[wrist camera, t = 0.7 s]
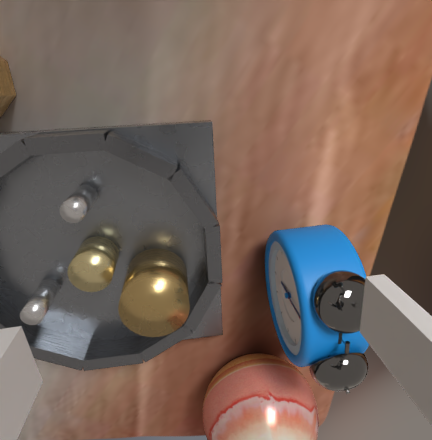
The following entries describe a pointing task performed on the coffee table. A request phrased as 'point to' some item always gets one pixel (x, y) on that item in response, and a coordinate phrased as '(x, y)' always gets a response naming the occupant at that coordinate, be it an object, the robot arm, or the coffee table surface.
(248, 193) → the coffee table surface
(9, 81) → the octagonal brass tube
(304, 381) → the vase
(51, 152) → the carrier
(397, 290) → the robot arm
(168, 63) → the coffee table surface
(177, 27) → the coffee table surface
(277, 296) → the alarm clock
